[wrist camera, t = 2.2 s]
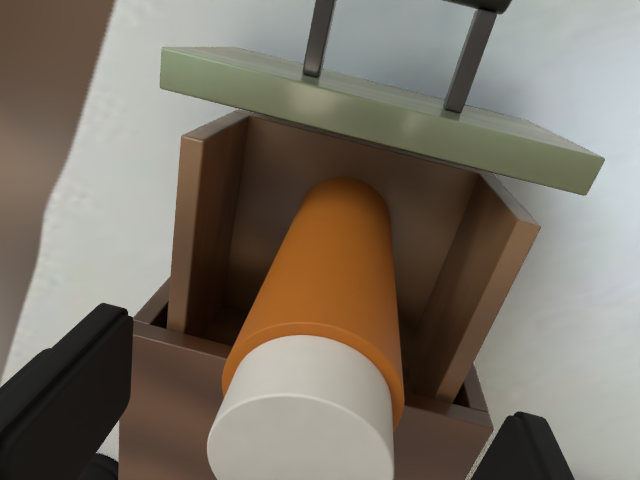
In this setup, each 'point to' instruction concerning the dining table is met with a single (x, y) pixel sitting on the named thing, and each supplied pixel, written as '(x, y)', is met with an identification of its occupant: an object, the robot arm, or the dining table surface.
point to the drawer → (367, 166)
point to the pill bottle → (318, 351)
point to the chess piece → (100, 469)
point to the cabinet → (207, 396)
